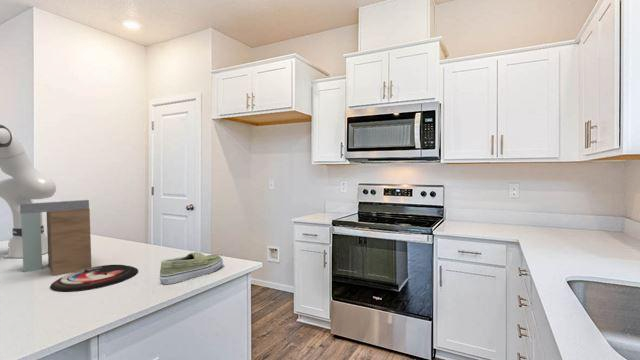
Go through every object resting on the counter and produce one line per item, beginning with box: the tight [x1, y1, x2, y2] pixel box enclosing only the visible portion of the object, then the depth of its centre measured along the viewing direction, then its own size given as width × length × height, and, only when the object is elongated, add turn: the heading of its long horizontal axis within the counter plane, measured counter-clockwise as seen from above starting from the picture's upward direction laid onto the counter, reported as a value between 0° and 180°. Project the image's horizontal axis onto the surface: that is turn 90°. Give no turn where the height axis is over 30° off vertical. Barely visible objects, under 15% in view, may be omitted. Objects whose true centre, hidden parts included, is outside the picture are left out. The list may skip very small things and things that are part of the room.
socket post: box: [21, 212, 43, 273], centre depth 144 cm, size 8×6×26 cm
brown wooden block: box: [45, 208, 92, 276], centre depth 147 cm, size 22×13×26 cm, turn 43°
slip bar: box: [20, 199, 90, 214], centre depth 137 cm, size 4×22×4 cm, turn 133°
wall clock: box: [50, 264, 139, 293], centre depth 132 cm, size 27×5×30 cm
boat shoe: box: [159, 251, 224, 285], centre depth 136 cm, size 10×29×9 cm, turn 151°
